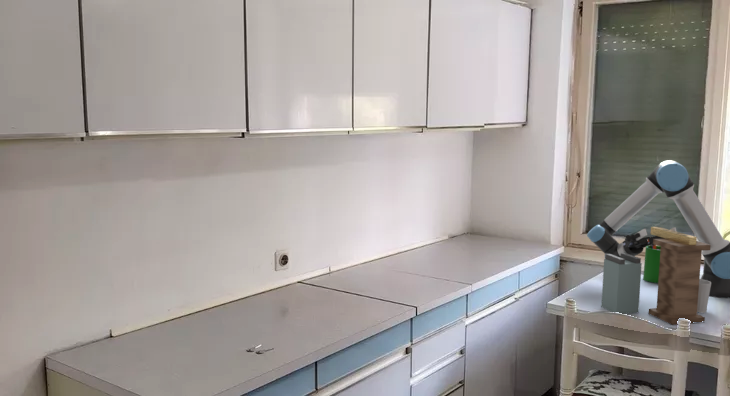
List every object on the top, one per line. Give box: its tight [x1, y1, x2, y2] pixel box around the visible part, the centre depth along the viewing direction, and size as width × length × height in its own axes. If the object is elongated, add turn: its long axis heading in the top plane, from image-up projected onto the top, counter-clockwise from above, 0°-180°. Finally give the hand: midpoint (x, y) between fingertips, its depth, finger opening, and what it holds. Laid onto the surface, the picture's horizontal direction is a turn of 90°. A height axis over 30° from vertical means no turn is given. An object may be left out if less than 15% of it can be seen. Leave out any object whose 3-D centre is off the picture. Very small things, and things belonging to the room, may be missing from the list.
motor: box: [642, 239, 661, 284], centre depth 305 cm, size 10×9×20 cm
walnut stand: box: [648, 239, 711, 326], centre depth 249 cm, size 14×14×30 cm
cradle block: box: [600, 253, 643, 314], centre depth 259 cm, size 10×10×22 cm
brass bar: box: [650, 226, 698, 245], centre depth 251 cm, size 22×3×3 cm, turn 13°
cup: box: [697, 278, 711, 314], centre depth 259 cm, size 8×8×12 cm
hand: (660, 231), depth 257 cm, fingers open, 13 cm apart
